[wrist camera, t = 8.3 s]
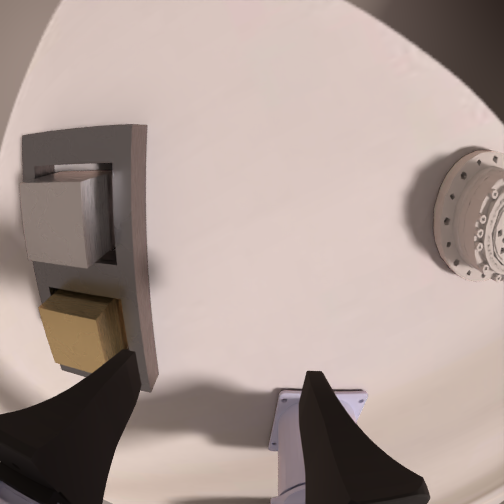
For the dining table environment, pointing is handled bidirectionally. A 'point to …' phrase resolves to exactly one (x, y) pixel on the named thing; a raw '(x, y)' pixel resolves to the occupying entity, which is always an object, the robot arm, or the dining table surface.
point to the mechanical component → (472, 217)
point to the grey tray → (125, 228)
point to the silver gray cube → (68, 217)
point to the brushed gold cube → (83, 328)
